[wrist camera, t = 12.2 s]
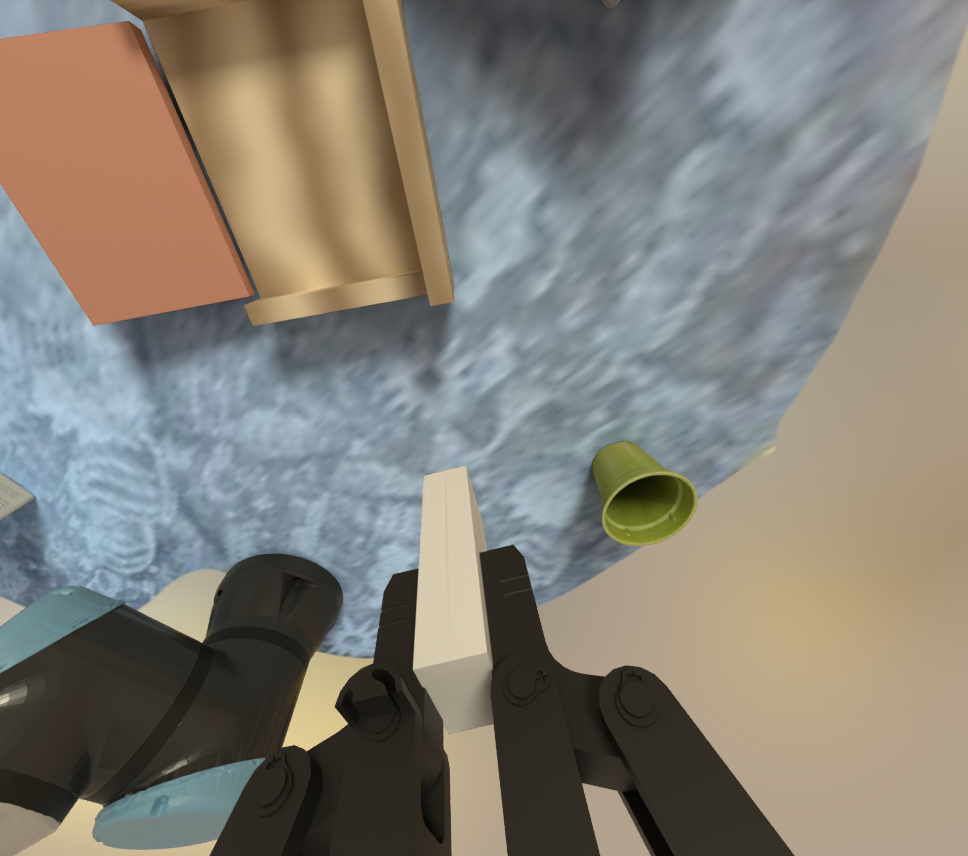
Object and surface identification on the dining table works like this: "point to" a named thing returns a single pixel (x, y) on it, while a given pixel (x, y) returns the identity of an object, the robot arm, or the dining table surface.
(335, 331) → the dining table surface
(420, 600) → the robot arm
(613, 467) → the plant pot
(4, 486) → the supplement box
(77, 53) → the panel
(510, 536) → the dining table surface
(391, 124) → the tray
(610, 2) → the grey compartment organizer
